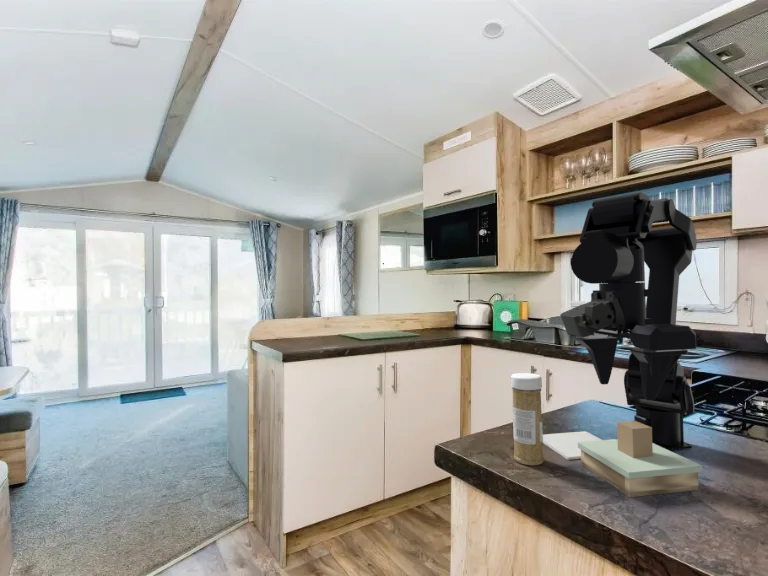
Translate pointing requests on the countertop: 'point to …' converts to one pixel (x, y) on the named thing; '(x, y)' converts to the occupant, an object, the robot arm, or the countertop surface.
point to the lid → (637, 453)
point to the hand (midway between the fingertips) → (625, 391)
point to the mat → (568, 443)
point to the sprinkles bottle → (527, 418)
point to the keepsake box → (641, 480)
